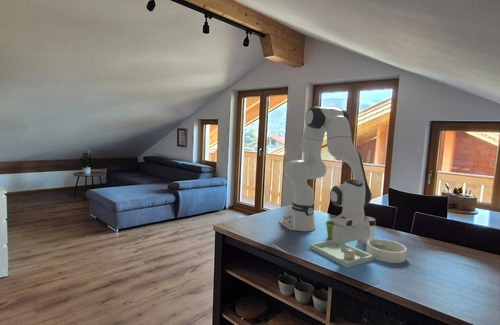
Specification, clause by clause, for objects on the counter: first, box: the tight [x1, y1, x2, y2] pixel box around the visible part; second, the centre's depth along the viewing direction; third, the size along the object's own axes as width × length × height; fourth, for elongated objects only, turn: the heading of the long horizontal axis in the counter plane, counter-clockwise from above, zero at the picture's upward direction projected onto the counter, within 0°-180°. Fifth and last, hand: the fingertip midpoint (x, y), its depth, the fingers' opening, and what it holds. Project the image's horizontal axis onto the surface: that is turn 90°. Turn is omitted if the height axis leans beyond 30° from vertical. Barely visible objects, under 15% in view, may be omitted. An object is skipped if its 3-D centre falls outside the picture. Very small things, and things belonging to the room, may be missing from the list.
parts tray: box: [309, 239, 374, 269], centre depth 130 cm, size 22×16×2 cm
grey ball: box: [374, 242, 385, 250], centre depth 133 cm, size 4×4×4 cm
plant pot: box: [325, 220, 335, 240], centre depth 149 cm, size 9×9×9 cm
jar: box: [362, 216, 377, 245], centre depth 147 cm, size 9×8×12 cm
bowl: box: [365, 238, 408, 264], centre depth 130 cm, size 16×16×5 cm
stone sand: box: [344, 248, 355, 260], centre depth 126 cm, size 4×4×4 cm
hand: (351, 250), depth 125 cm, fingers open, 8 cm apart
